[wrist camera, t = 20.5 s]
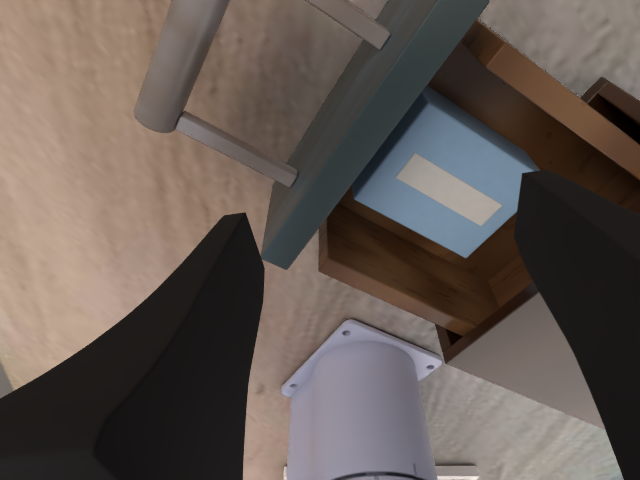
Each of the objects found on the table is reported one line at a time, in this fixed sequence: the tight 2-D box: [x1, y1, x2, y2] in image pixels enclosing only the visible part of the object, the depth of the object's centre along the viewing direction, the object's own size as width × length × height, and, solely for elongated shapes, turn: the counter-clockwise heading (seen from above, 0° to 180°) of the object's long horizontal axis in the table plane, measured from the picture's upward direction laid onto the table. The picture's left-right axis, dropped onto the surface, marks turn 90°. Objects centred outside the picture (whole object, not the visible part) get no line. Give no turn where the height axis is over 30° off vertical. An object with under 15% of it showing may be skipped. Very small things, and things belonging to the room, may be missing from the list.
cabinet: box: [435, 77, 640, 430], centre depth 21 cm, size 14×12×7 cm
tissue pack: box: [352, 85, 540, 258], centre depth 18 cm, size 5×6×3 cm
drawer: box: [134, 0, 640, 336], centre depth 17 cm, size 20×11×5 cm, turn 59°
